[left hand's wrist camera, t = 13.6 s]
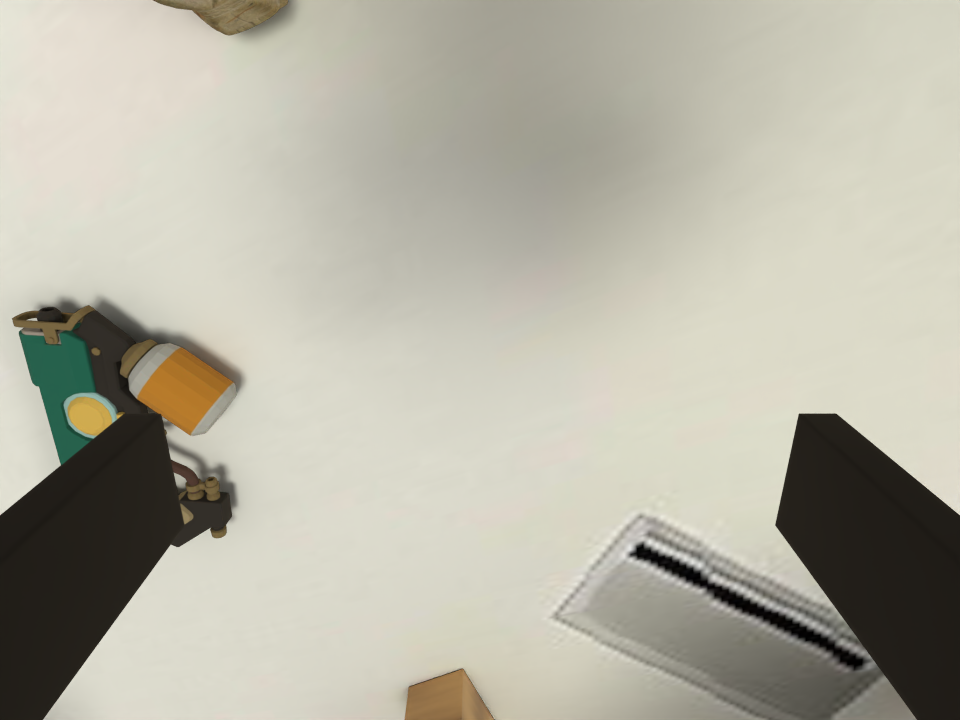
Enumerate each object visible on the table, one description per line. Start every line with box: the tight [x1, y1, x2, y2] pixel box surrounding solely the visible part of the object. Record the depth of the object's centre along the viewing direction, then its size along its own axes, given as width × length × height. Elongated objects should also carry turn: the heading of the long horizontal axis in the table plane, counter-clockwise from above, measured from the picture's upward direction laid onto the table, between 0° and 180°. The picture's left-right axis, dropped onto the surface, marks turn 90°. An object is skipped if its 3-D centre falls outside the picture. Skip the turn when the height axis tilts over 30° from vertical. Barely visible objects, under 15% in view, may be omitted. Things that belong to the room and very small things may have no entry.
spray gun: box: [12, 305, 237, 547], centre depth 41 cm, size 4×17×15 cm
